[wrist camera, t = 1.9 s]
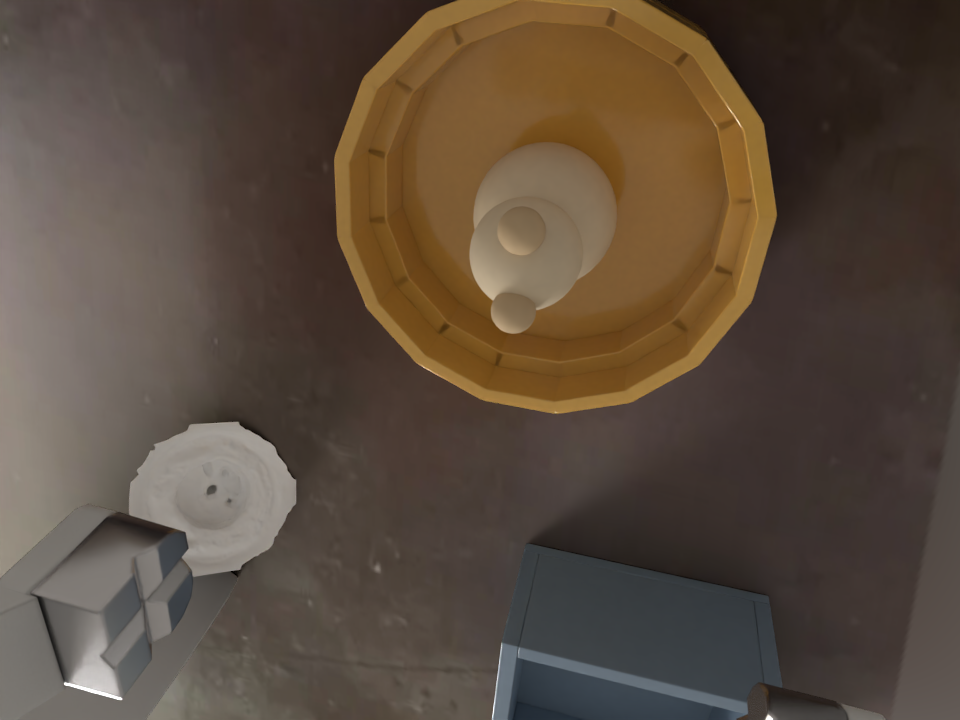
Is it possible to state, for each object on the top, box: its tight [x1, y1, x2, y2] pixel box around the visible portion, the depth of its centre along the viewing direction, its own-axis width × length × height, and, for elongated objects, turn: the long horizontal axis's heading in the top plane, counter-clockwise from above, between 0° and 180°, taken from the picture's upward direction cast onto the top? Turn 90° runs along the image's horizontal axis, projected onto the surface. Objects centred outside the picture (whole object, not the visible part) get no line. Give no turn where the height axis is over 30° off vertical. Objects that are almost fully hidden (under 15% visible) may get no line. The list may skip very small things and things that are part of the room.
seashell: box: [129, 422, 296, 577], centre depth 39 cm, size 8×5×8 cm
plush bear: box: [470, 142, 617, 334], centre depth 24 cm, size 5×5×9 cm
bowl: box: [334, 0, 777, 414], centre depth 26 cm, size 15×15×4 cm
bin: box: [492, 543, 783, 720], centre depth 38 cm, size 13×14×7 cm
